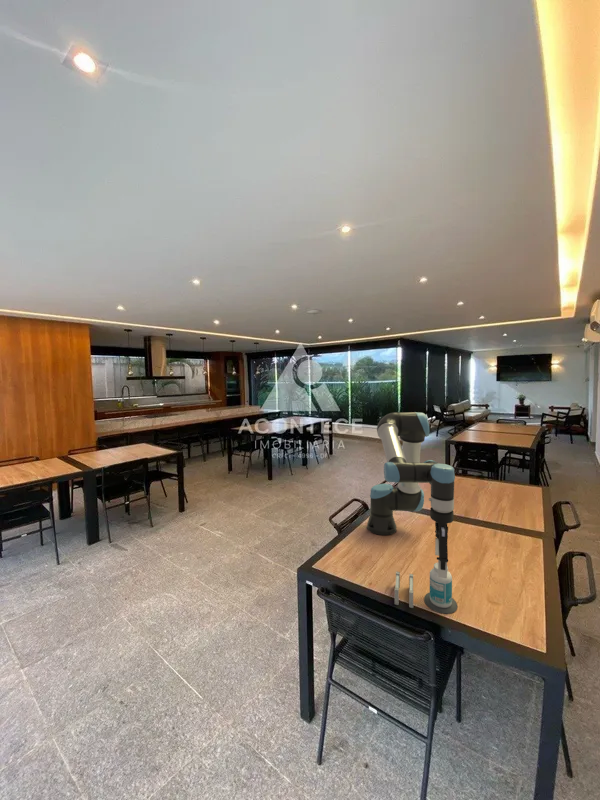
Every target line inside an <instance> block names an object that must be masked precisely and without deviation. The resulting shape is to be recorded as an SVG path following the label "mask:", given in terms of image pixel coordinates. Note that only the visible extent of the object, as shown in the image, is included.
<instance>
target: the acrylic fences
mask: <svg viewBox="0 0 600 800" xmlns="http://www.w3.org/2000/svg"><path fill="white" fill-rule="evenodd" d="M408 576H409V579H408V581H409V583H408V585H409V587H408V589H409V590H408V591H409V593H408V595H409V597H408V598H409V599H408V600H409V601H408V602H409V603H408V607H409V608H411V609H414V574H413V573H409V575H408ZM400 577H401V576H400V571H397V570H395V587H394V605H396V606H399V602H400V596H399V595H400V594H399V593H400V592H399V591H400V586H401V585H400V584H401V583H400V581H401V580H400V579H401V578H400Z"/></svg>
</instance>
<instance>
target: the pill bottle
mask: <svg viewBox="0 0 600 800" xmlns="http://www.w3.org/2000/svg"><path fill="white" fill-rule="evenodd" d="M429 592H430V600H431V602H432V603H433V604H434V605H436V606H438V607H441V608H447V607H450V606H451V604H452V598H453V576H452V574H451V572H450V571H449V567H448V565H447V578H441V577H438V562H435V563H434V564H433V568H432V569H431V570H430V571H429Z"/></svg>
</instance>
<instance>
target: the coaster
mask: <svg viewBox="0 0 600 800" xmlns="http://www.w3.org/2000/svg"><path fill="white" fill-rule="evenodd" d="M423 598H424V599H423V600H424V603H425V605H426V606H427V607H428V608H429V609H430V610H431V611H434V612H435V613H439V614H443V615H445V614H446V615H448V614H449V615H450V614H451V615H452V614H453V613H456V612H457V610H458V603H457V601H456V600H455V599H454V598H453V597H452V604H451V606H450V607H447V608H441V607H438V606H436V605H434V604H433V603H432V602H431V600H430V591H429V592H426V594H425V595H424V597H423Z"/></svg>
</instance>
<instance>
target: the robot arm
mask: <svg viewBox="0 0 600 800" xmlns="http://www.w3.org/2000/svg"><path fill="white" fill-rule="evenodd" d="M376 433H377V436H378V438H379V439H380V441H381V444H382V448H383V452H384V455H385V459H386V462H384V465H383V475H384V477H383V478H384V480H385V481H386V482H387V483H379V484H375V485H374V486H372V487H371V488H370V493H369V494H370V495H369V498H370V511H369V512H370V514H369V517H368V520H367V523H366V528H367V530H368V531H369V532H370V533H372V534H374V535H379V536H390V535H391V536H392V535H393V534H395V533H397V532H396V531H397V524H396V521H395V518H394V512H395V511H396V512H399V511H400V512H412V513H413V512H420V511H422V510H423V507H424V504H425V493H424V490H423V489H422V488H421V485H420V484H422V483H423V484H429V485H430V497H429V498H428V501H429V502H430V514H429V515H430V519H431V520H432V521H433V522H434V524H435V526H434V527H435V529H434V530H435V531H434V532H435V540H434V541H435V542H434V543H435V548H434V549H435V550H434V552H435V553H434V555H435V556H438V557H436V560H438V561H437V563H438V577H441V578H447V566H448V562H449V558H448V557H449V555H448V553H449V551H448V539H449V535H448V533H449V526H448V524H451V523H453V521H454V515H455V513H454V509H455V479H456V475H455V468H454V467H453V466H452V465H449V464H446V463H439V462H437V461H436V460H433V459H427V460H425V461H422V462H421V461H420V460H421V447H422V443H423V442H425V438H426V437H428V436H429V435H430V423H429V419H428V417H427V415H426V414H425V413H424V412H419V411H418V412H416V411H414V412H412V411H411V412H403V411H402V412H396V411H395V412H394V411H393V412H390V413H387V414H386V415H384V416H383V417H382V418H381V419H379V422H378V423H377V427H376ZM400 440H401V442H402V445H401V442H400ZM389 483H395V484H397V486H396V487H394V486H393V485H392V484H389ZM419 483H420V484H419Z"/></svg>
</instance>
